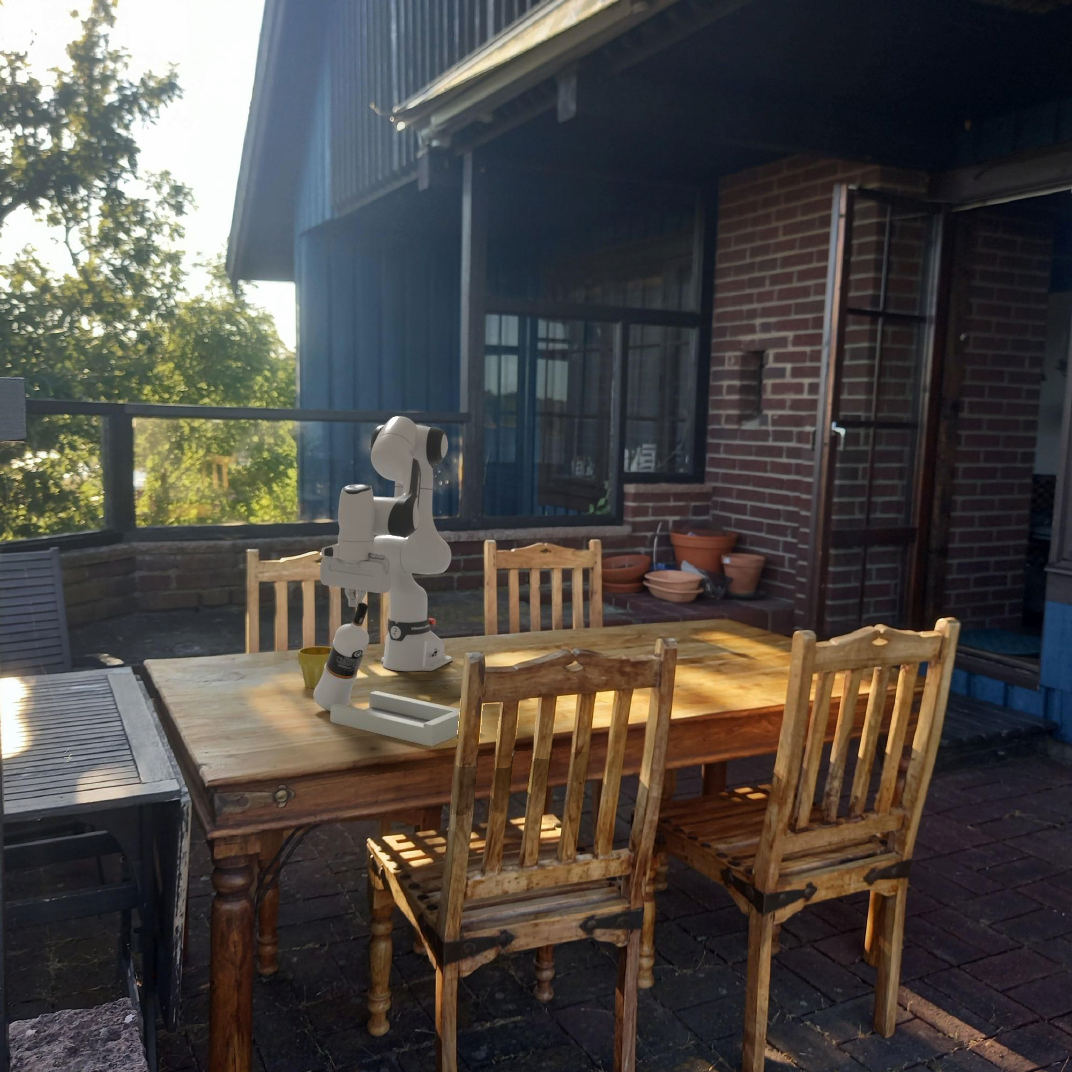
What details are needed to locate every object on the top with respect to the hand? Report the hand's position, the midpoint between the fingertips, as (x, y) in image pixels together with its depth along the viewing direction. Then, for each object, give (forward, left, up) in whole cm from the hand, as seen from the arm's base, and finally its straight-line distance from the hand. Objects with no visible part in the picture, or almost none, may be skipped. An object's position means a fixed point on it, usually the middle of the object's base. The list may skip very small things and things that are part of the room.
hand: (355, 606), depth 256 cm
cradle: (0, +15, -27) cm, 31 cm away
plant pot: (-14, -25, -27) cm, 40 cm away
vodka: (0, -8, -25) cm, 26 cm away
